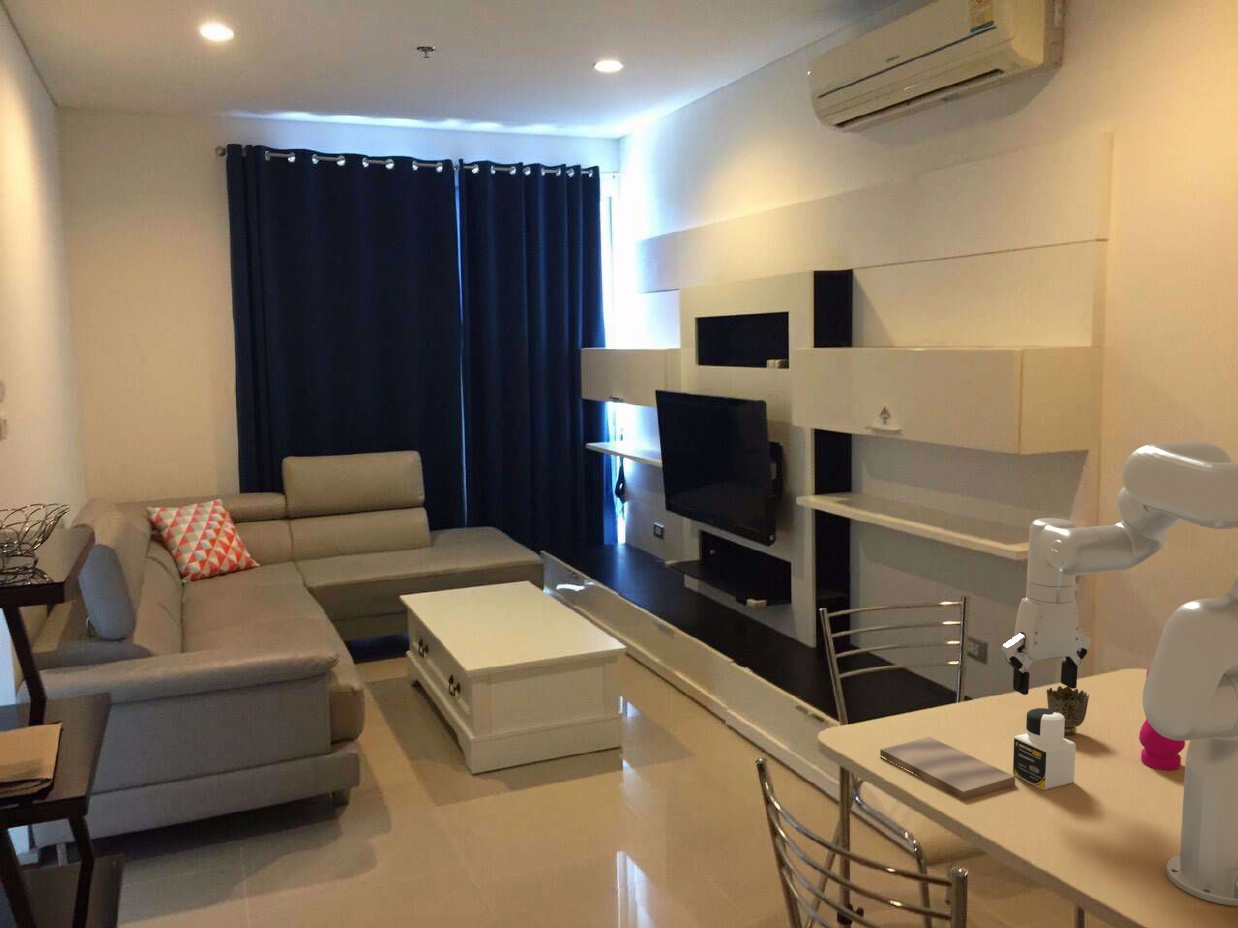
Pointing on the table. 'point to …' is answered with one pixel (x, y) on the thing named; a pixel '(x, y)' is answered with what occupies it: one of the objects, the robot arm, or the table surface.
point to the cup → (1069, 706)
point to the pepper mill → (1159, 748)
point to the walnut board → (948, 768)
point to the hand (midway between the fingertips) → (1044, 688)
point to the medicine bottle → (1044, 751)
